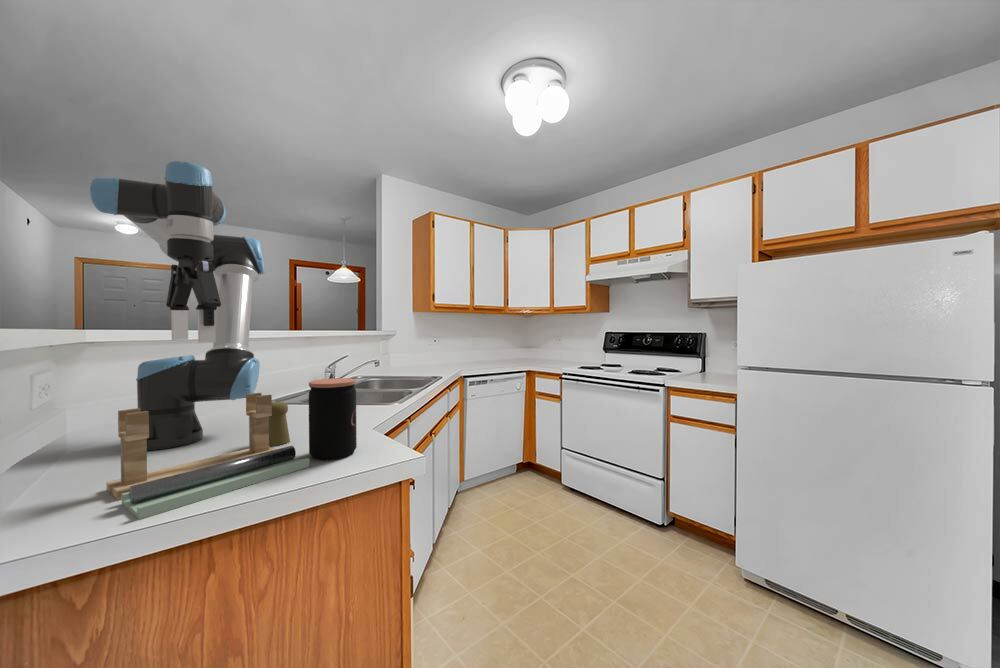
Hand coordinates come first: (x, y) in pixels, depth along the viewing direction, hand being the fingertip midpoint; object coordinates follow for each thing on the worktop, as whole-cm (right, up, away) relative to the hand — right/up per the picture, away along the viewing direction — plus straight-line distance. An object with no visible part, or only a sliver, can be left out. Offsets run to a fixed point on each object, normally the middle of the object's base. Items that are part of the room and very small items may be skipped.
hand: (193, 341), depth 80 cm
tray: (+11, -28, -5) cm, 31 cm away
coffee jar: (+24, -28, +12) cm, 39 cm away
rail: (+10, -26, -5) cm, 28 cm away
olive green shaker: (+5, -28, +21) cm, 36 cm away
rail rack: (+2, -28, +1) cm, 28 cm away
